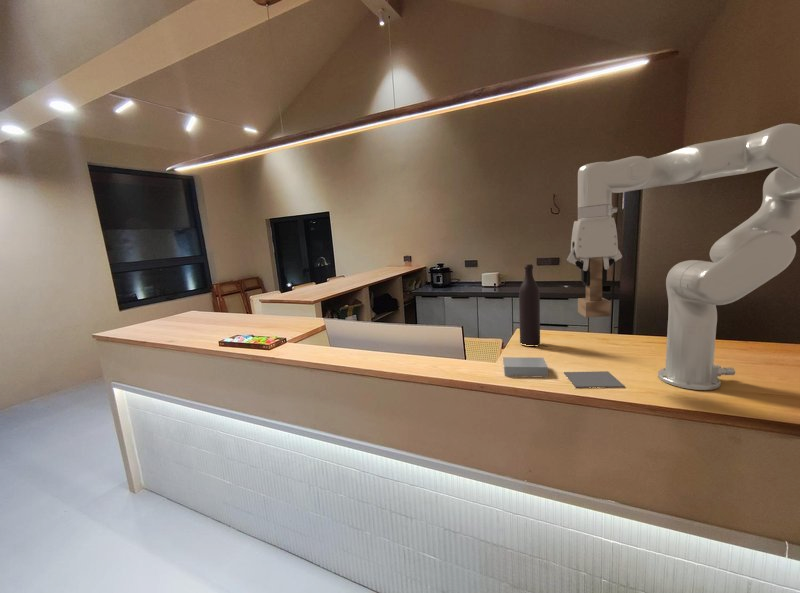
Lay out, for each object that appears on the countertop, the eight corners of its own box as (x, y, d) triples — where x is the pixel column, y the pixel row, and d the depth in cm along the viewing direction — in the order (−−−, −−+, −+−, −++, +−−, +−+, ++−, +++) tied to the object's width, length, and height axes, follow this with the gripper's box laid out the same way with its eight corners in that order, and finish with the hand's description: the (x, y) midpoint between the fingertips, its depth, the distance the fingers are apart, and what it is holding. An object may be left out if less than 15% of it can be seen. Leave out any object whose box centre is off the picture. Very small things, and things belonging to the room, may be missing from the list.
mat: (608, 372, 99) (608, 371, 99) (624, 387, 89) (624, 386, 89) (563, 373, 101) (563, 371, 101) (575, 388, 91) (575, 386, 91)
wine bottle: (543, 343, 129) (542, 263, 124) (535, 348, 124) (534, 265, 119) (524, 340, 134) (523, 263, 129) (516, 345, 129) (515, 265, 124)
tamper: (601, 311, 95) (601, 253, 92) (610, 316, 89) (611, 254, 86) (577, 312, 96) (577, 254, 93) (585, 317, 90) (585, 256, 87)
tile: (543, 357, 107) (503, 357, 110) (547, 367, 99) (504, 366, 102) (543, 367, 107) (503, 367, 110) (547, 378, 99) (504, 377, 102)
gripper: (622, 211, 90) (620, 280, 93) (556, 217, 93) (557, 284, 96) (636, 209, 83) (635, 284, 86) (564, 216, 86) (565, 288, 89)
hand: (593, 284), depth 91 cm, fingers closed on tamper, 3 cm apart
